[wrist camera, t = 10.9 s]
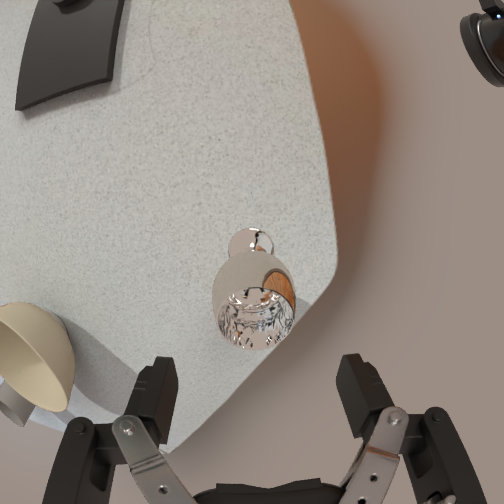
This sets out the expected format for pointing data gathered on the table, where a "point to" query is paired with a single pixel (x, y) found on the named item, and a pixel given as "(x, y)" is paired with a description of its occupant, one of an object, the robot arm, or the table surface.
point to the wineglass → (253, 293)
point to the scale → (67, 48)
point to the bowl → (36, 355)
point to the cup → (14, 405)
